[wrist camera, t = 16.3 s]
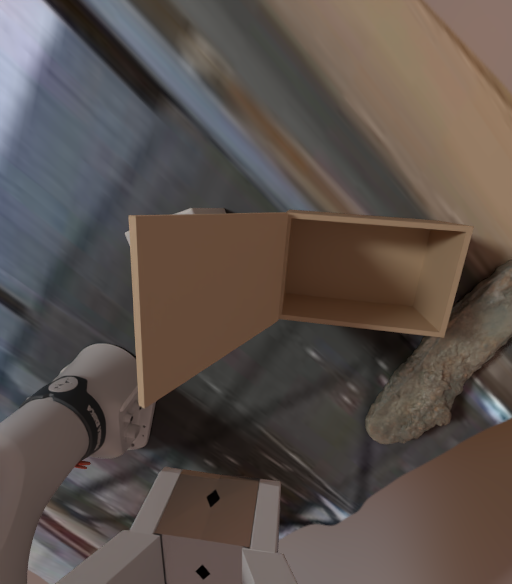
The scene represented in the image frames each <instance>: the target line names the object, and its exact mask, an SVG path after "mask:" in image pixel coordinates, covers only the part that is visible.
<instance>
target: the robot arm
mask: <svg viewBox="0 0 512 584" xmlns="http://www.w3.org/2000/svg"><path fill="white" fill-rule="evenodd" d="M155 404H156V401H155V402H154V403H152V404H151V405H149V406H148V407H146V408H145V409H144V408H142V407H141V406H139V402H138V383H137V364H136V359H135V358H134V357H133V356H132V355H131V354H130V353H128V352H127V351H125V350H123V349H122V348H119V347H117V346H114V345H110V344H94V345H91V346H88V347H86V348H85V349H83V350H82V351H81V352H80V353H79V355H78V356H77V357H76V358H75V360H74V361H73V362H72V363H71V364H69V365H67V366H66V367H65V368H64V369H63V370H62V371H61V373H60V375H59V376H57V377H56V378H55V379H54V380H53V381H52V382H51V383H49V384H48V385H46V386H44V387H42V388H41V389H40V390H38V391H37V392H36V393H34V394H33V395H32V396H30V397H29V398H27V400H26V401H24V402H23V403H22V404H21V406H20V407H19V409H18V410H17V411H16V412H14V413H13V414H12V415H10V416H9V417H8V418H6V419H5V420H3V421H2V422H1V423H0V584H27V570H28V560H29V554H30V548H31V544H32V540H33V536H34V533H35V530H36V527H37V524H38V522H39V519H40V517H41V515H42V513H43V511H44V509H45V507H46V505H47V504H48V502H49V500H50V499H51V497H52V496H53V495H54V493H55V492H56V490H57V489H58V488H59V486H60V485H61V484H62V482H63V481H64V480H65V478H66V477H67V476H68V474H69V473H70V472H71V471H72V469H73V468H74V467H76V468H81V469H87V467H85V466H81V465H90V464H91V463H90V462H86V461H82V460H83V459H85V458H87V457H89V456H90V457H95V458H105V459H109V458H116V457H119V456H121V455H122V454H124V453H125V452H126V451H127V450H133V449H139V448H142V447H144V446H145V445H146V444H147V443H148V440H149V435H150V430H151V425H152V420H153V414H154V409H155ZM280 495H281V482H280V481H274V480H266V479H259V478H250V477H240V476H231V475H218V474H211V473H204V472H198V471H191V470H185V469H184V470H183V469H176V468H169V467H164V468H163V469H162V470H161V471H160V473H159V475H158V477H157V478H156V480H155V482H154V484H153V486H152V488H151V490H150V492H149V494H148V496H147V498H146V500H145V502H144V504H143V506H142V507H141V509H140V511H139V513H138V515H137V517H136V519H135V521H134V523H133V525H132V527H131V529H130V531H129V530H123V531H121V532H120V533H119V534H118V535H116V536H115V537H114V538H112V539H111V540H110V541H109V542H107V543H106V544H105V545H104V546H102V547H101V548H100V549H99V550H97V551H96V552H95V553H93V554H92V555H91V556H90V557H88V558H87V559H86V560H85V561H83V562H82V563H81V564H79V565H78V566H77V567H76V568H74V569H73V570H72V571H71V572H69V573H68V574H67V575H66V576H64V577H63V578H62V579H60V580H59V581H58V582H57V583H55V584H297V581H296V580H295V577H294V575H293V573H292V571H291V569H290V567H289V565H288V563H287V560H286V558H285V556H284V554H281V553H278V542H279V518H280Z"/></svg>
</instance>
